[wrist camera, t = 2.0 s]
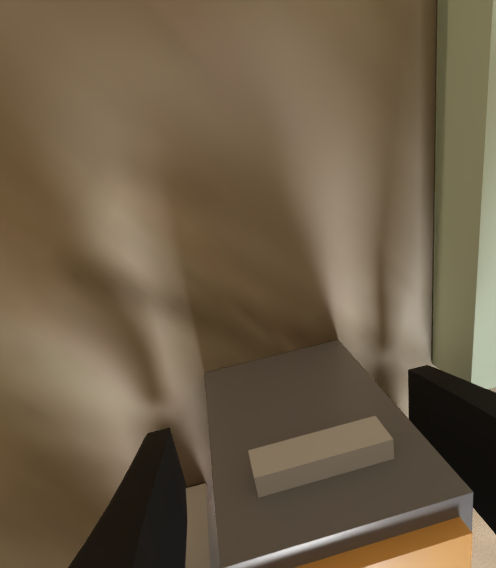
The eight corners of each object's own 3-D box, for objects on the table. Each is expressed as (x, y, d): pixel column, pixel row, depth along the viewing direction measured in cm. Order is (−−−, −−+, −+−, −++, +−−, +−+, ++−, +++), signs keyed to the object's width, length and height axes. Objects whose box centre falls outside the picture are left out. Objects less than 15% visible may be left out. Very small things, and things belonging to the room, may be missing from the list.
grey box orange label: (335, 324, 12) (488, 485, 6) (359, 542, 15) (470, 785, 9) (200, 357, 11) (214, 567, 5) (257, 574, 15) (305, 849, 9)
